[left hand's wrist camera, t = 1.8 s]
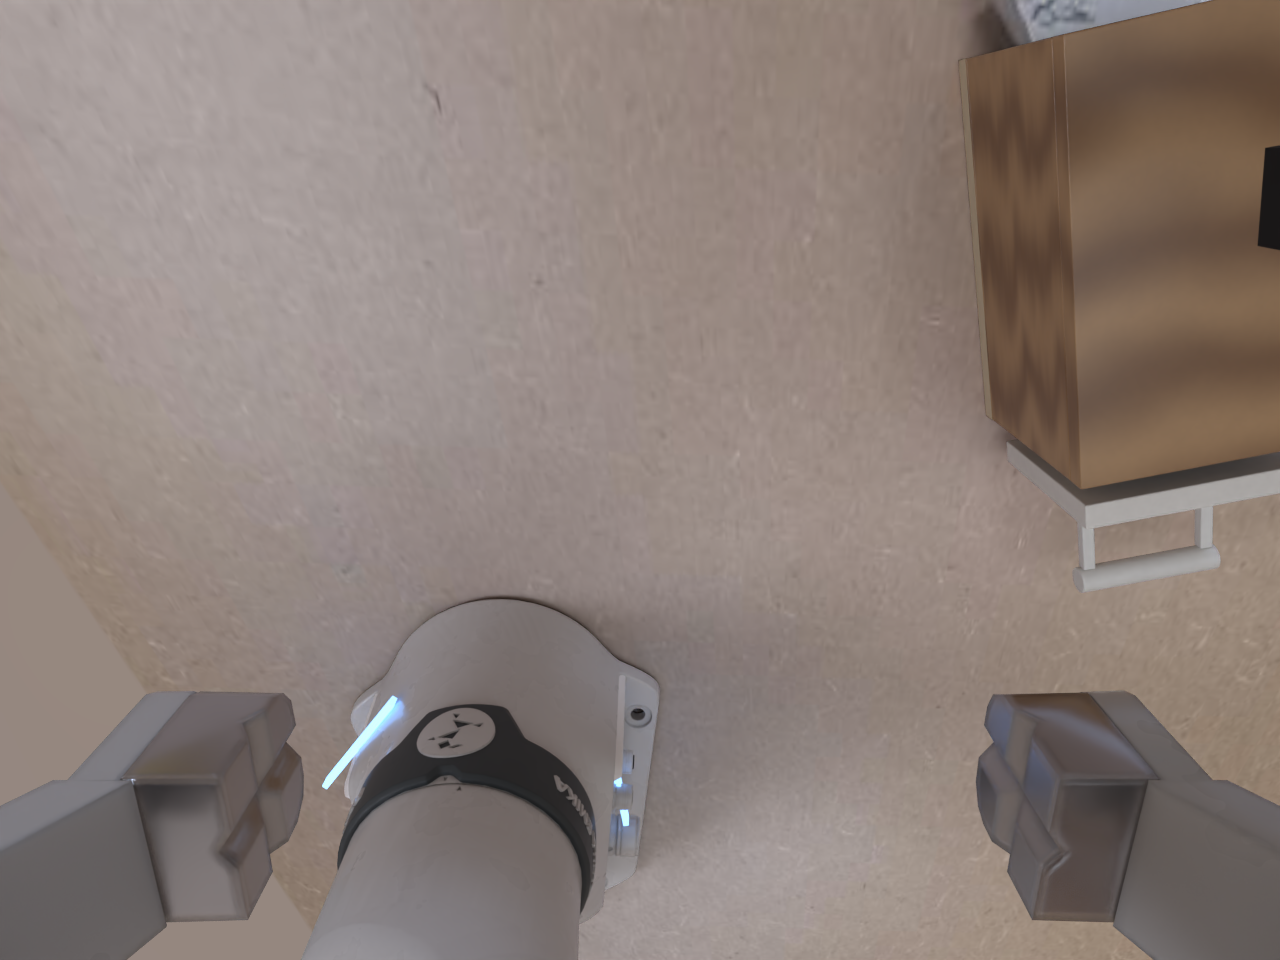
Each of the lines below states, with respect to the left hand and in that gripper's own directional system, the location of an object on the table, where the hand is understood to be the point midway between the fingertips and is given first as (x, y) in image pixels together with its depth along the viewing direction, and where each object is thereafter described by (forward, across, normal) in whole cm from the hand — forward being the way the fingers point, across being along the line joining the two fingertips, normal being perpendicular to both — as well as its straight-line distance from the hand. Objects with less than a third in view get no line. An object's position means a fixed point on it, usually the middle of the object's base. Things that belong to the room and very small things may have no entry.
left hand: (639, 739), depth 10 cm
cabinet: (+38, +22, +3) cm, 44 cm away
